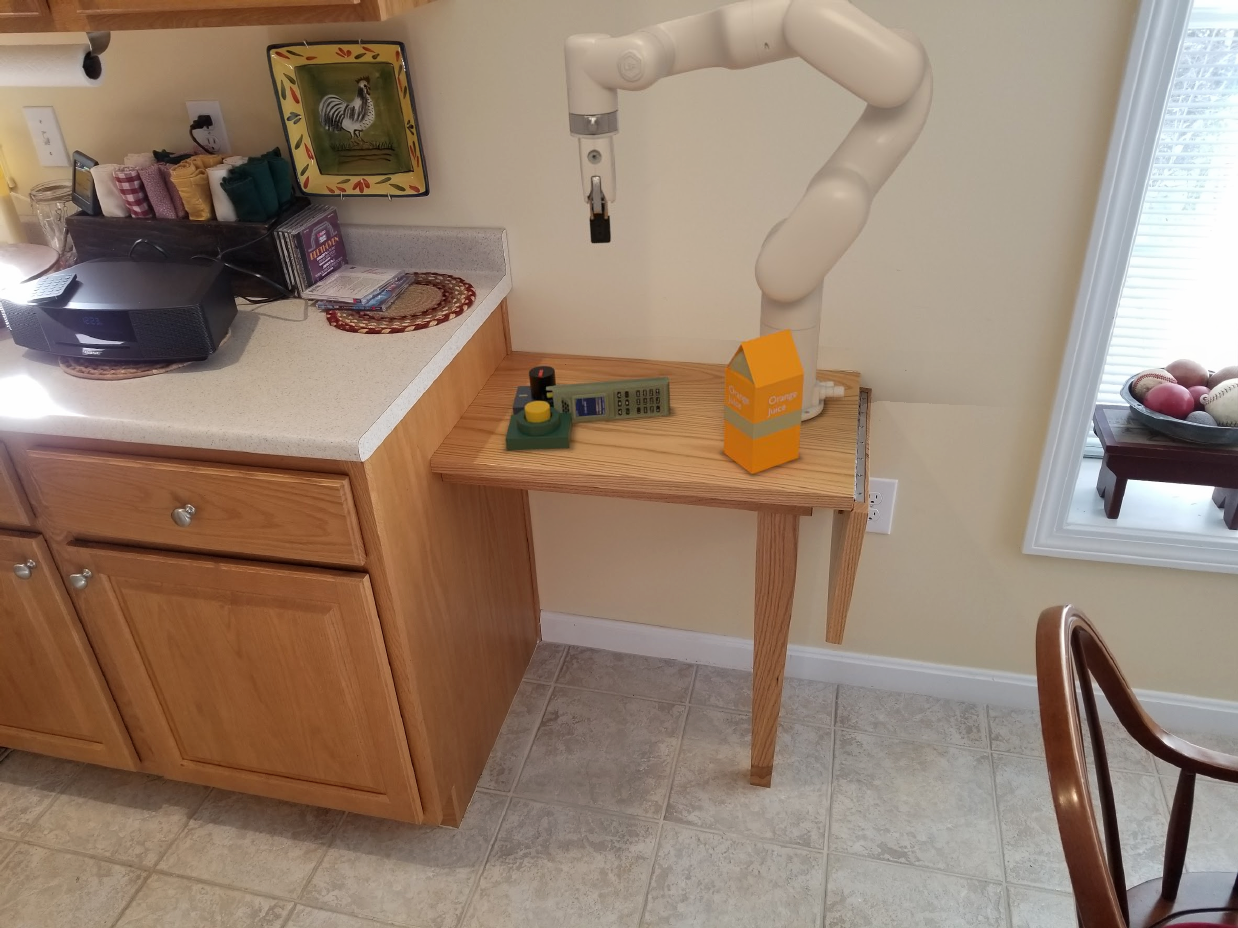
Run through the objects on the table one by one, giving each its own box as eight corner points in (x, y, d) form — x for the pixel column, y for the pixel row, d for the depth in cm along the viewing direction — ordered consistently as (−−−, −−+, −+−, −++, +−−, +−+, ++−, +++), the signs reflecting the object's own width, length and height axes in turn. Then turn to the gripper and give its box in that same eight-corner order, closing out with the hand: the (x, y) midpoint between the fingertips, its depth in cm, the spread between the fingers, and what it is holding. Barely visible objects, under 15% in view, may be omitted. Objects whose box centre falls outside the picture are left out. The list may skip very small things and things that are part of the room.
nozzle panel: (575, 395, 160) (574, 382, 159) (572, 419, 153) (571, 405, 152) (519, 397, 161) (517, 384, 159) (513, 421, 153) (512, 407, 152)
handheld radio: (670, 418, 152) (522, 430, 151) (668, 410, 155) (522, 422, 154) (669, 382, 149) (517, 394, 148) (667, 374, 152) (518, 386, 151)
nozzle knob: (532, 389, 157) (530, 364, 155) (558, 389, 157) (555, 363, 155) (529, 401, 154) (527, 375, 151) (555, 400, 153) (553, 375, 151)
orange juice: (722, 452, 141) (724, 333, 131) (769, 436, 145) (774, 320, 134) (752, 474, 136) (756, 352, 125) (799, 458, 139) (807, 337, 128)
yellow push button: (551, 411, 148) (550, 400, 147) (549, 423, 145) (548, 412, 144) (527, 412, 148) (525, 401, 147) (524, 424, 145) (523, 412, 144)
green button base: (572, 424, 152) (570, 402, 149) (569, 448, 145) (567, 426, 143) (512, 426, 152) (510, 405, 150) (507, 450, 145) (504, 428, 143)
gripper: (618, 132, 131) (623, 255, 141) (619, 113, 144) (624, 227, 154) (566, 135, 132) (575, 257, 141) (572, 115, 144) (580, 228, 154)
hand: (601, 241), depth 147 cm, fingers closed
